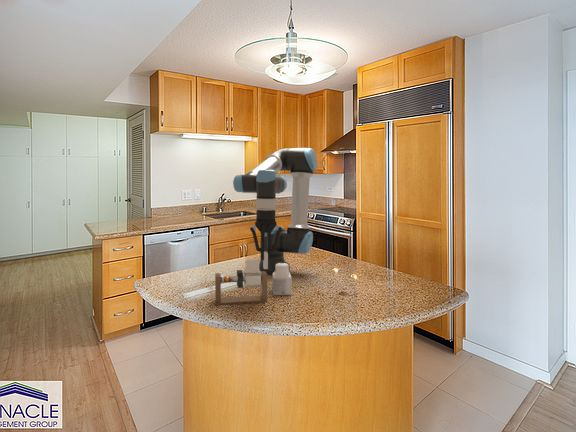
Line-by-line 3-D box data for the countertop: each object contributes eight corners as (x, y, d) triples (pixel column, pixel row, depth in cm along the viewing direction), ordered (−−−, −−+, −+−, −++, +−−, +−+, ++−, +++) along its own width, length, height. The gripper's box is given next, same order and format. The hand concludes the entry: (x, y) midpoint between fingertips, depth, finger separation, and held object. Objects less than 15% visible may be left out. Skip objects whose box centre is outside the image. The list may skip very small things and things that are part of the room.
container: (272, 289, 152) (272, 260, 151) (289, 289, 153) (290, 260, 151) (273, 295, 144) (273, 264, 143) (291, 294, 145) (291, 264, 144)
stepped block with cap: (259, 282, 141) (259, 257, 139) (260, 286, 135) (261, 260, 134) (244, 283, 139) (244, 257, 138) (245, 287, 134) (245, 261, 133)
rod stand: (264, 296, 142) (265, 270, 141) (267, 302, 136) (267, 274, 135) (215, 299, 138) (215, 272, 137) (215, 305, 132) (215, 277, 131)
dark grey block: (241, 283, 139) (241, 270, 138) (243, 287, 134) (243, 273, 133) (236, 283, 139) (236, 270, 138) (237, 288, 133) (237, 274, 133)
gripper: (280, 208, 140) (279, 265, 143) (248, 208, 137) (248, 266, 140) (284, 210, 133) (283, 269, 135) (250, 210, 130) (250, 271, 132)
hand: (265, 268), depth 138 cm, fingers closed
